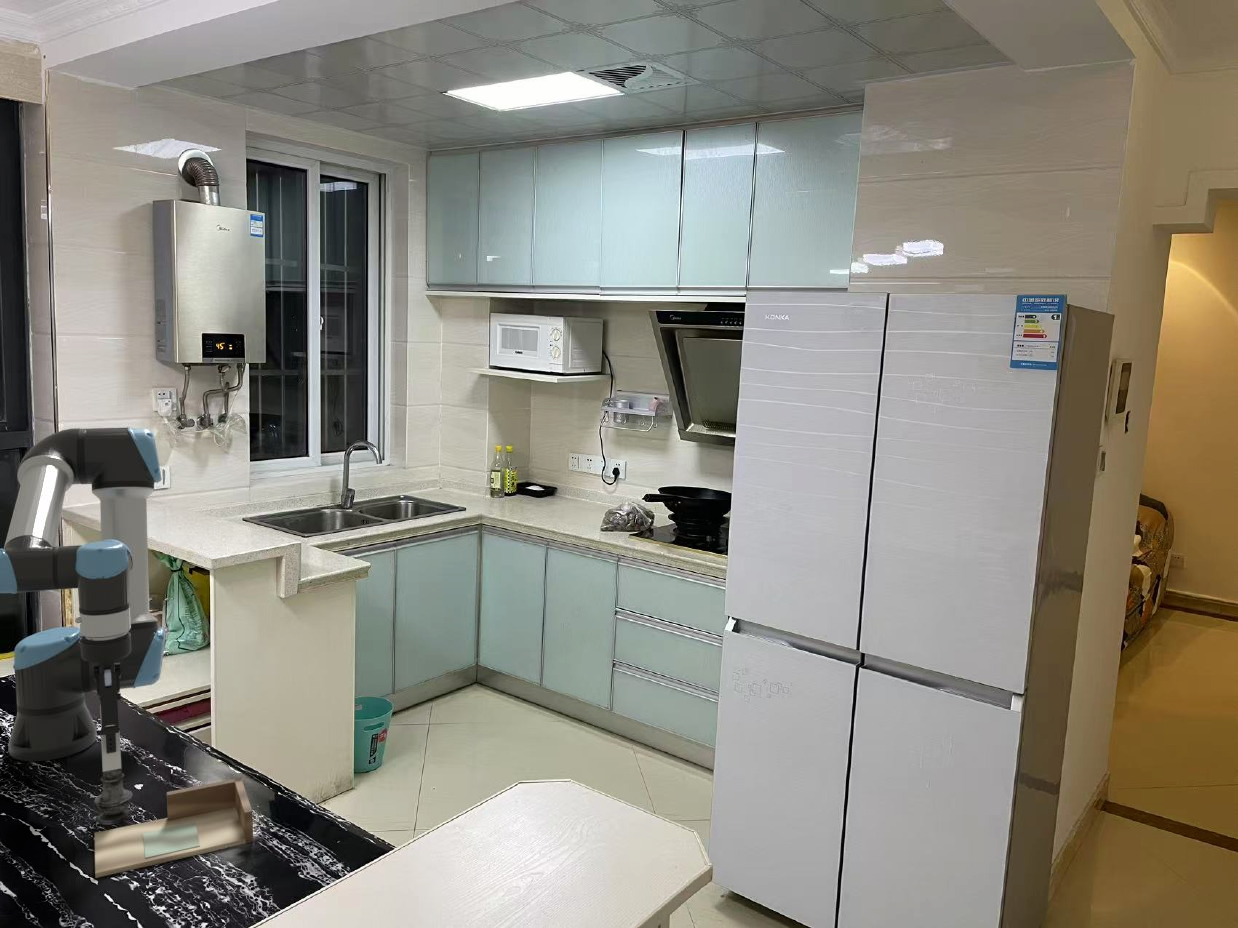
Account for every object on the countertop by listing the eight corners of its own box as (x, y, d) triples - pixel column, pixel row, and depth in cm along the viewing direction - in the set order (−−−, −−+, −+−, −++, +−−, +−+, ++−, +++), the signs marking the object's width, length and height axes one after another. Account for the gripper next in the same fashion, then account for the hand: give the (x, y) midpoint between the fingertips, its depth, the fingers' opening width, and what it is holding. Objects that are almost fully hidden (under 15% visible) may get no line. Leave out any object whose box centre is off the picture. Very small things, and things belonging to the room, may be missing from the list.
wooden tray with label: (94, 837, 154) (93, 806, 154) (241, 806, 166) (241, 777, 165) (95, 877, 143) (93, 845, 143) (253, 841, 155) (252, 811, 154)
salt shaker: (116, 827, 158) (113, 761, 156) (86, 822, 159) (83, 757, 157) (141, 810, 163) (138, 746, 162) (112, 806, 165) (109, 742, 163)
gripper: (80, 617, 165) (86, 730, 168) (79, 659, 144) (85, 788, 146) (127, 612, 169) (132, 722, 172) (133, 652, 148) (139, 778, 150)
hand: (111, 753), depth 159 cm, fingers open, 13 cm apart
